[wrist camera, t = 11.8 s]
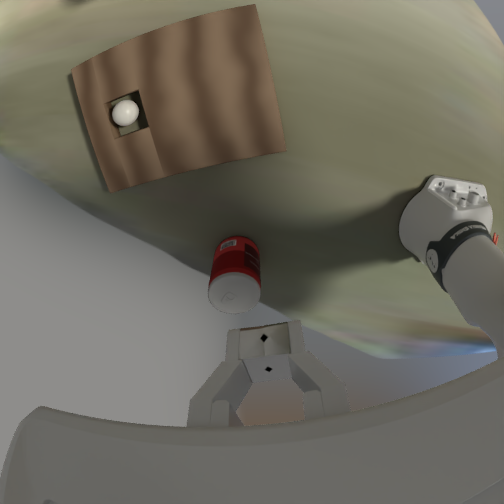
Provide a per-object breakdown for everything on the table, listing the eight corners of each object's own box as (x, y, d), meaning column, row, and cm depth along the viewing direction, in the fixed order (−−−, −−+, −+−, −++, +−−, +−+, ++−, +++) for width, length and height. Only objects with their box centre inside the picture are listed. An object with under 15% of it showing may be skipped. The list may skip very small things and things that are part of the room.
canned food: (208, 261, 52) (199, 304, 42) (226, 227, 48) (221, 266, 39) (246, 277, 54) (245, 320, 44) (267, 245, 50) (270, 287, 40)
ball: (139, 93, 33) (114, 102, 31) (146, 118, 36) (122, 127, 33) (128, 99, 36) (105, 107, 34) (135, 122, 38) (112, 131, 36)
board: (255, 8, 28) (255, 4, 26) (284, 147, 40) (286, 151, 38) (79, 68, 31) (71, 69, 29) (116, 187, 43) (110, 193, 41)
